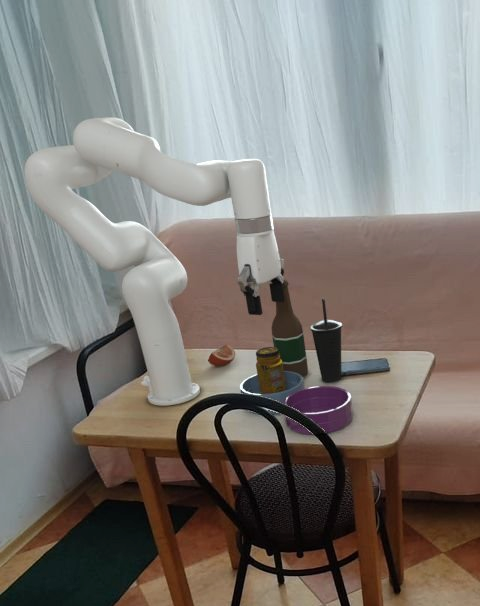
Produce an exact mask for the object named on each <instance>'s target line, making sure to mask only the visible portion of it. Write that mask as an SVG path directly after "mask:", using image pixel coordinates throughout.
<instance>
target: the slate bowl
mask: <svg viewBox="0 0 480 606" xmlns="http://www.w3.org/2000/svg"><path fill="white" fill-rule="evenodd" d="M284 377H285V384H286V390H285V391H282V392H278V393H272V394H261V393H260V387H259V381H258V375H257V373H256V374H254V375H251V376H248V377H247V378H245V379H244V380H242V382H241V383H240V384H239V389H240V394H241V393H243V394H253V395H258V396H263V397H267V398H271V399H273V400H277V401H279V402H281V403H283V402H284V400H285V398H286V397H287V396H289V395H290V394H292V393H294V392H296V391H298V390H302V389H305V384H304V382H305V381H304V377H303V378H302V376H301V375H300V374H298V373H295V372H292V371H284ZM246 411H248V410H246ZM248 412H249V413H252V414H255V415H257V414H256V413H254V412H251V411H248ZM268 412H270V413H271V414H272V415H279V414H280V413H276V412H273V411H270V410H268Z"/></svg>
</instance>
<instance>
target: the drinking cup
mask: <svg viewBox="0 0 480 606" xmlns="http://www.w3.org/2000/svg"><path fill="white" fill-rule="evenodd" d="M321 304H322V314H323V319H321V320H319V321H317V322H315V323H312V324H311V325H310V326H309V329H310V331H311V334H312V339H313V343H314V344H313V345H314V348H315V353H316V358H317V362H318V363H317V364H318V367H319V372H320V376H321V381H322V382H323V383H329V384H330V383H337V382H339V381H341V380H342V328H343V323H342V322H340V321H338V320H334V319H328V317H327V308H326V299H325V298H322V299H321Z"/></svg>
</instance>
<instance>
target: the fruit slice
mask: <svg viewBox="0 0 480 606" xmlns="http://www.w3.org/2000/svg"><path fill="white" fill-rule="evenodd" d="M235 357H236V351H235V349H234V348H233V347H232V346H231V344H229V343H225V344H224V345H223V346H221V347H220V348H218V349H216V350H214V351H212V352H211V353H210V355H209V357H208V359H207V362H208V363H209V364H210V365H211V366H214V367H225V366H228V365H229V364H230V363H232V362H233V361H234V359H235Z"/></svg>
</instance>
